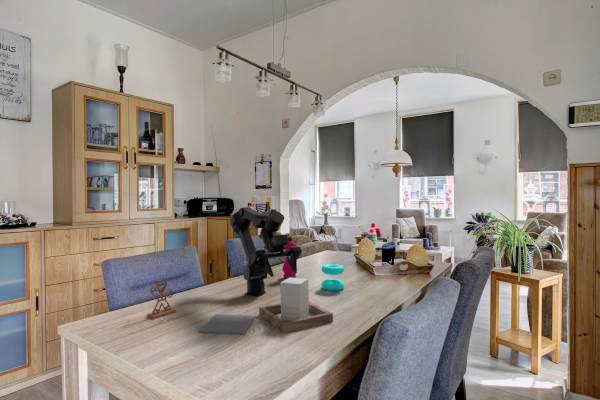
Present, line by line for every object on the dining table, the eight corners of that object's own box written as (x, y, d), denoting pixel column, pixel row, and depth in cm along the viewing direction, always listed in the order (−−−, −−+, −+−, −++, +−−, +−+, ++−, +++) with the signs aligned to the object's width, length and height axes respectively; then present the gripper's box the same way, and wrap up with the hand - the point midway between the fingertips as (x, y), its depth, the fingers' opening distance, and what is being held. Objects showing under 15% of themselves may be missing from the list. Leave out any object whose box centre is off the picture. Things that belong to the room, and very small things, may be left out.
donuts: (346, 264, 153) (340, 268, 144) (346, 286, 153) (340, 292, 144) (325, 262, 157) (318, 266, 148) (325, 284, 157) (318, 290, 148)
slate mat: (215, 316, 116) (215, 314, 116) (255, 317, 115) (255, 315, 115) (198, 332, 102) (198, 330, 102) (244, 334, 101) (244, 332, 101)
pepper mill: (298, 277, 172) (298, 237, 172) (294, 280, 165) (293, 238, 165) (285, 275, 174) (285, 236, 174) (280, 279, 167) (279, 238, 167)
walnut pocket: (259, 314, 117) (259, 307, 117) (304, 306, 126) (304, 299, 126) (283, 332, 102) (283, 324, 102) (332, 321, 111) (332, 313, 111)
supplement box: (309, 316, 116) (309, 278, 116) (300, 323, 109) (300, 284, 109) (290, 313, 119) (289, 276, 119) (280, 320, 112) (279, 281, 112)
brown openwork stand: (170, 309, 123) (170, 276, 123) (176, 312, 121) (176, 278, 120) (146, 317, 116) (146, 281, 116) (153, 319, 113) (152, 283, 113)
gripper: (253, 227, 120) (267, 264, 110) (299, 224, 129) (315, 258, 120) (245, 247, 127) (257, 283, 117) (289, 243, 136) (304, 276, 127)
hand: (284, 274), depth 120 cm, fingers open, 9 cm apart
